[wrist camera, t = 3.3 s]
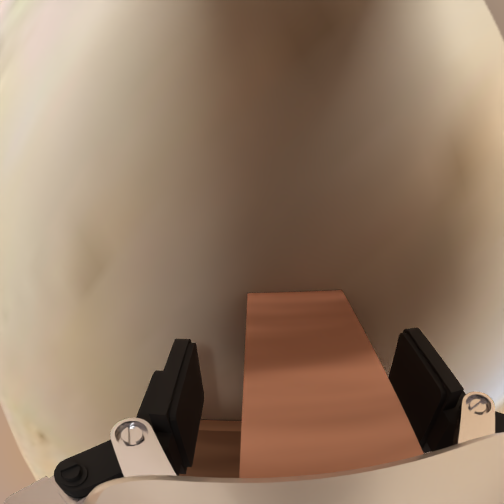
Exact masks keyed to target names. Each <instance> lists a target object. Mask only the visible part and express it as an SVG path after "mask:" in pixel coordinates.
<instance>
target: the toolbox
mask: <svg viewBox="0 0 504 504" xmlns="http://www.w3.org/2000/svg"><path fill="white" fill-rule="evenodd" d="M241 427H242V421H223V420H200V425H199V430H198V436H197V442H196V448H195V454H194V460H193V465H192V467H187V471H186V474H179V476H193V477H212V478H239V472H240V449H241Z"/></svg>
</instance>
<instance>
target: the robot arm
mask: <svg viewBox="0 0 504 504" xmlns="http://www.w3.org/2000/svg"><path fill="white" fill-rule="evenodd" d="M388 378H389V380H390V382H391V384H392V387H393V389H394V391H395V393H396V395H397V397H398V399H399V401H400V403H401V405H402V407H403V409H404V411H405V414H406V416H407V418H408V420H409V422H410V424H411V426H412V429H413V431H414V433H415V435H416V437H417V440H418V442H419V444H420V446H421V449H422V451H423V453H426V454H422V455H419V456H415V457H411V458H407V459H403V460H399V461H394V462H390V463H385V464H380V465H375V466H370V467H364V468H359V469H353V470H346V471H339V472H332V473H324V474H314V475H304V476H291V477H272V478H212V477H193V476H179V474H186V471H187V467H192V465H193V460H194V454H195V448H196V442H197V436H198V430H199V425H200V419H201V413H202V408H203V402H204V392H203V386H202V380H201V373H200V367H199V360H198V354H197V347H196V343H191V340H190V339H175V341H174V344H173V346H172V349H171V352H170V354H169V357H168V360H167V363H166V365H165V368H164V371H155V372H154V374H153V376H152V378H151V381H150V383H149V386H148V388H147V391H146V394H145V396H144V399H143V401H142V404H141V407H140V409H139V412H138V414H137V417H136V418H126V419H123V420H121V421H119V422H118V423H116V424H115V425H114V426H113V428H112V429H111V433H110V437H111V440H109V441H107V442H105V443H102V444H100V445H98V446H96V447H93V448H91V449H89V450H86V451H84V452H82V453H79V454H77V455H75V456H72V457H70V458H67V459H65V460H63V461H62V462H60V463H59V464H58V465H57V467H56V469H55V471H54V476H52V477H50V478H48V477H47V476H45V477H44V478H42V479H40V480H38V481H36V482H35V483H33V484H31V485H29V486H27V487H25V488H24V489H22V490H20V491H18V492H16V493H14V494H12V495H10V496H9V497H8V498H7V499H6V500H5V502H4V504H504V414H502V413H499V412H496V411H495V405H494V402H493V400H492V399H491V398H490V397H489V396H488V395H486V394H484V393H481V392H470V393H468V394H465V393H464V391H463V390H464V389H463V387H462V386H461V384H460V383H459V382H458V380H457V379H456V377H455V376H454V375H453V373H452V372H451V370H450V369H449V368H448V366H447V365H446V364H445V362H444V361H443V360H442V358H441V357H440V356H439V354H438V353H437V352H436V350H435V349H434V348H433V346H432V345H431V344H430V342H429V341H428V340H427V338H426V337H425V336H424V335H423V333H422V332H421V331H420V329H419V328H410V329H405V330H404V331H403V333H401V334H400V335H399V339H398V343H397V347H396V351H395V355H394V359H393V363H392V366H391V370H390V374H389V377H388ZM431 451H432V452H431ZM427 452H429V453H427Z"/></svg>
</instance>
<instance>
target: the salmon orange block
mask: <svg viewBox="0 0 504 504" xmlns="http://www.w3.org/2000/svg"><path fill="white" fill-rule="evenodd" d="M422 454H424V453H423V451H422V449H421V446H420V444H419V442H418V440H417V437H416V435H415V433H414V431H413V429H412V426H411V424H410V422H409V420H408V418H407V416H406V414H405V411H404V409H403V407H402V405H401V403H400V401H399V399H398V397H397V395H396V393H395V391H394V389H393V387H392V384H391V382H390V380H389V378H388V376H387V374H386V372H385V370H384V368H383V366H382V364H381V363H380V361H379V359H378V357H377V355H376V353H375V351H374V349H373V347H372V345H371V343H370V341H369V339H368V337H367V335H366V334H365V332H364V330H363V328H362V326H361V324H360V322H359V320H358V319H357V317H356V315H355V313H354V311H353V309H352V307H351V306H350V304H349V302H348V300H347V298H346V297H345V295H344V293H343V291H342V290H330V291H305V292H272V293H248V295H247V317H246V338H245V360H244V382H243V404H242V427H241V449H240V472H239V478H272V477H291V476H304V475H314V474H324V473H332V472H339V471H346V470H353V469H359V468H364V467H370V466H375V465H380V464H385V463H390V462H394V461H399V460H403V459H407V458H411V457H415V456H419V455H422Z"/></svg>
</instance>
